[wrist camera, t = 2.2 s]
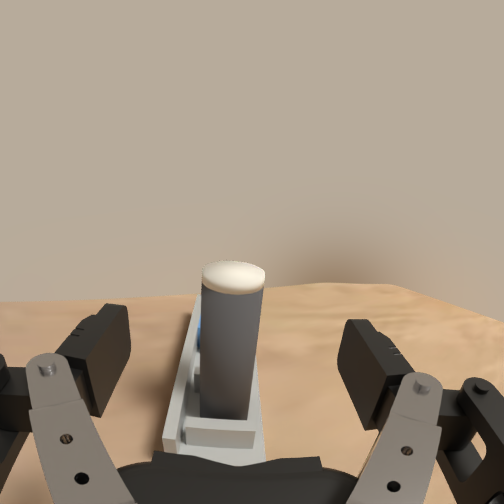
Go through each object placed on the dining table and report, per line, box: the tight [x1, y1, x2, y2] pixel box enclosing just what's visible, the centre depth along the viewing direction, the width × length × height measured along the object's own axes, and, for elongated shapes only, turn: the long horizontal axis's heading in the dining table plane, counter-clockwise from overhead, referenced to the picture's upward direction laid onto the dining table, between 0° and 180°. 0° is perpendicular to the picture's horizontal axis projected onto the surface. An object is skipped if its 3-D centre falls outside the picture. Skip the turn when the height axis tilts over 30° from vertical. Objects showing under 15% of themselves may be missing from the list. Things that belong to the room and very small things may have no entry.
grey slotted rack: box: [162, 294, 266, 466], centre depth 33 cm, size 8×26×4 cm, turn 2°
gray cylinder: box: [200, 261, 265, 420], centre depth 24 cm, size 4×4×14 cm
